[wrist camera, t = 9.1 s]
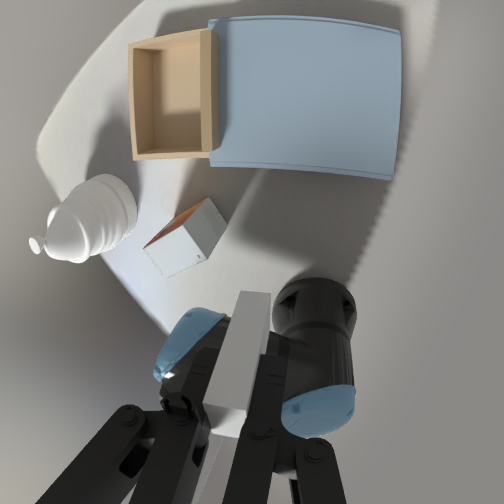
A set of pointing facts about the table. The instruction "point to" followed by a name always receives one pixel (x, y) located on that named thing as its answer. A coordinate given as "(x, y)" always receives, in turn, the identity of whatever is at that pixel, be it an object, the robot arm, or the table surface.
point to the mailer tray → (165, 97)
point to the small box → (187, 239)
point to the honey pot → (89, 220)
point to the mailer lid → (301, 94)
